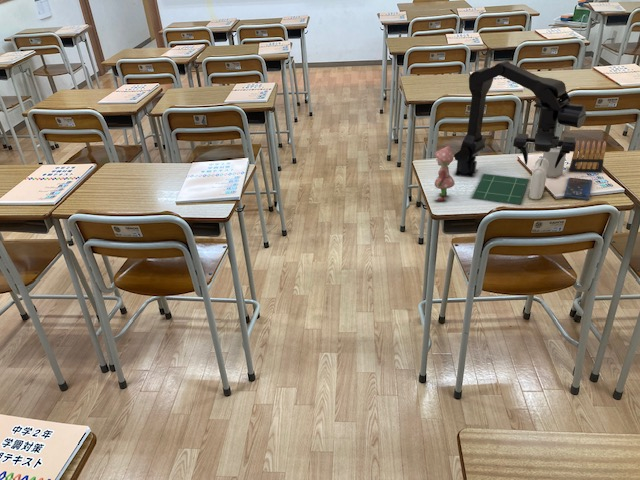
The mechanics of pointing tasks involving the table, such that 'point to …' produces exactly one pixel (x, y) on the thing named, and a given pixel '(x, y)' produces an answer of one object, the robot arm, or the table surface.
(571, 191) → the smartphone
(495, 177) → the cutting mat
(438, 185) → the cartoon character
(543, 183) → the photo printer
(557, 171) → the can
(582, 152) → the ammunition clip
